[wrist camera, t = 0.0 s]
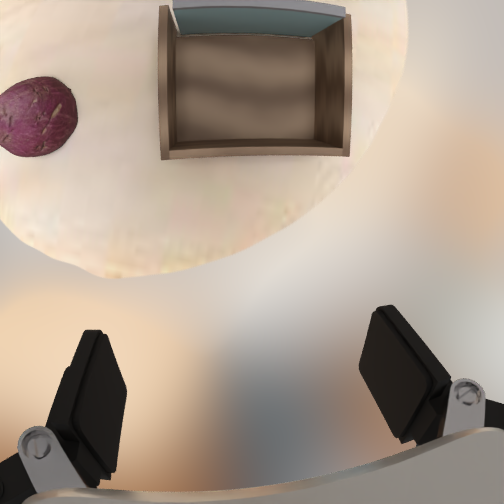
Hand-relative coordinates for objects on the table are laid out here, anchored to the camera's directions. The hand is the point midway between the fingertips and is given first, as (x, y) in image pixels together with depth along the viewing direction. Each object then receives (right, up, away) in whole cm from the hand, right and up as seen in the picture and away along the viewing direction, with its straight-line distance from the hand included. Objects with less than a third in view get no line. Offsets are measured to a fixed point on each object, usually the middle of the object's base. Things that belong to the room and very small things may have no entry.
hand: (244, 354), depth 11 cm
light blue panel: (0, +30, +19) cm, 35 cm away
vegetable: (-26, +21, +21) cm, 40 cm away
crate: (0, +23, +24) cm, 33 cm away
